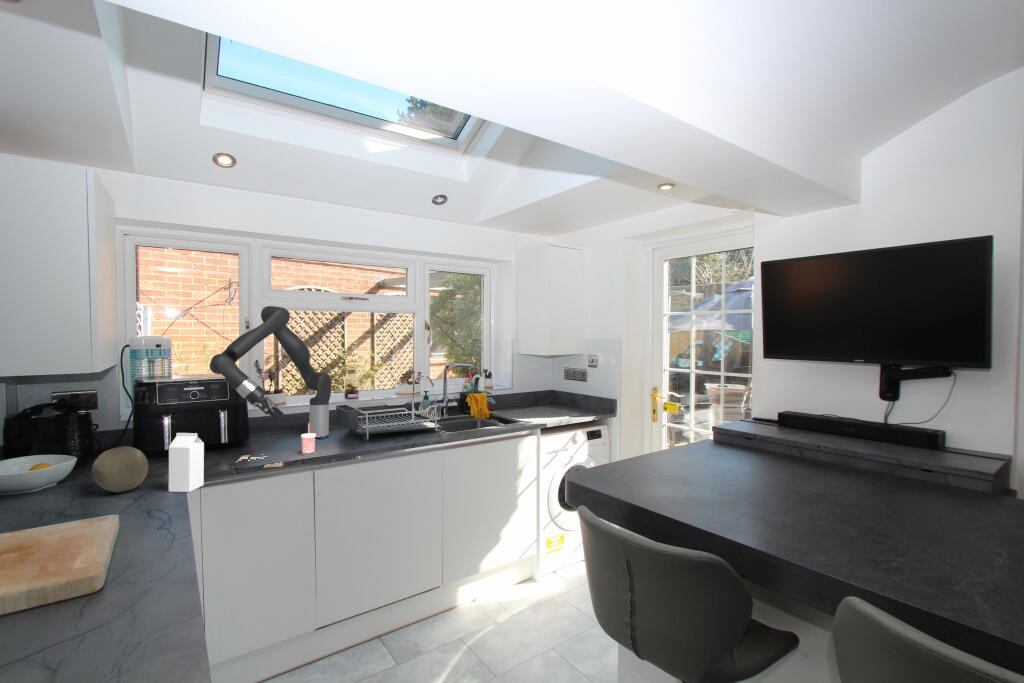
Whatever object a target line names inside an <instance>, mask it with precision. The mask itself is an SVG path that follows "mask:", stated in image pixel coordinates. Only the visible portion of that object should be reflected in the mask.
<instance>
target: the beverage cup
mask: <svg viewBox="0 0 1024 683" xmlns="http://www.w3.org/2000/svg"><path fill="white" fill-rule="evenodd" d="M315 437H316V434H315V433H309V422H308V423H307V433H306V432H305V433H302V434H300V438H301V446H302V447H301V448H302V450H301V451H302V454H303V453H311V452H314V453H315V448H316V447H315V446H316V439H315Z"/></svg>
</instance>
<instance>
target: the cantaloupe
mask: <svg viewBox="0 0 1024 683" xmlns="http://www.w3.org/2000/svg"><path fill="white" fill-rule="evenodd" d="M148 461H149V460H148V459H147V457H146V455H145V454H144V453H143V451H141V450H140V449H138V448H135V447H133V446H127V445H126V446H125V445H123V446H118V447H114V448H110V449H107V450H105V451H103V452H102V453H101V454H99V455H98V457H97V458H96V459H95V460H94V462H93V464H92V467H91V475H92V479H93V481H94V482H95V483H96V485H97V486H99V487H100V488H102V489H103V490H105V491H107V492H112V493H125V492H129V491H131V490H134V489H135V488H136V487H138V486H139V485H141V483H142V482H143V481H144V480H146V477H147V475H148V472H149V462H148Z"/></svg>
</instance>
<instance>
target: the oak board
mask: <svg viewBox="0 0 1024 683" xmlns="http://www.w3.org/2000/svg"><path fill="white" fill-rule="evenodd" d="M250 455H251V454H249V455H248V454H246V455H245V454H244V455H242V456H240V457H239V459H238V460H237V461H236V462H238V461H241V460H242V459H248V457H249V456H250ZM263 457H267V456H263ZM263 457H262V458H261V457H251V458H250V459H252V460H253V459H254V460H256V458H258V459H259V458H260V459H264V458H263ZM250 459H249V460H248V461H250ZM283 466H284V464H283V462H280V463H274V464H266V465H264V467H263V468H277V467H278V468H279V467H280V468H281V467H283Z"/></svg>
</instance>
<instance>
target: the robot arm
mask: <svg viewBox="0 0 1024 683" xmlns="http://www.w3.org/2000/svg"><path fill="white" fill-rule="evenodd" d="M260 318H261V320H262V323H261V324H260V325H259V326H257V327H254V328H253V329H250V330H249V331H246V332H244V333H243V334H241V335H240V336H238V337H236V339H235V340H233V341H232V342H231V343H229V345H228V346H226V349H225V350H224V351H222V352H221V353H218V354H215V355H213V356H212V358H211V360H210V363H209V370H210V371H211V372H212V373H213V374H216V375H221V376H223V377H224V378H225V380H226V383H227V384H228V385H229V386H230V387H232V388H233V389H234V390H235V391H236V392H237V393H238V394H239V395H240V396H241V397H242V398H243V399H245V401H247V402H248V403H249V404H250V405H251V406H254V405H255V404H256V407H257V408H258V409H259V410H260V411H262V412H263V413H264V414H265V415H268V416H270V417H271V418H272V419H274V421H278V420H279V419H280V418H281V417H283V416H284V412H283V411H282V410H281V409H279V407H278V404H276V403H275V402H274V401H273V400H272V399H270V398H269V397H268V396H267V397H265V396H266V394H267V391H266V390H265V389H264V388H262V387H261V386H260V385H259V384H258V383H257V382H256V381H255V380H253V379H251V378H250V377H249V376H248V375H247V374H246V373H245V372H243V371H242V370H241V369H240V368H239V366H238V365H237V364H236V363H237V362H238V361H239V360H240V359H241V358H242V357H244V356H245V355H247V353H248V352H249V351H251V350H252V349H253V348H254V347H256V346H257V345H258V344H259V343H260V342H262V341H263V340H265V339H266V338H268V337H270V335H272V334H273V336H274V338H276V340H277V341H278V343H279V344H280V345H281V347H282V348H283V350H284V351H285V354H286V355H287V356H288V357H289V359H290V361H292V363H293V365H294V367H295V368H296V370H298V373H299V374H300V375H301V378H302V380H303V382H304V383H305V385H306V387H307V388H308V389H309V390H311V391H316V394H315V396H314V397H311V398H310V399H309V416H308V418H309V419H308V420H309V422H308V423H309V433H315V434H316V437H320V436H326V435H328V434H329V435H330V433H329V430H330V429H329V428H330V426H329V425H330V424H329V423H330V420H329V419H330V418H329V417H330V399H331V396H332V395H331V392H332V377H331V375H330V374H328V373H327V372H317V371H316V370H314V368H313V367H312V365H311V361H310V360H311V353H310V352H311V351H310V350H309V348H308V346H307V345H306V343H305V342H304V341H303V340H302V338H301V337H299V336H298V335H297V334H296V333H294V332H293V331H292V330H291V329H290V328H289V327H288V326H287V324H288V323H289V321H290V318H291V315H290V312H289V310H288V309H286V308H285V307H282V306H276V305H275V306H274V305H268V306H265V307H263V308H262V309H261V312H260Z"/></svg>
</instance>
